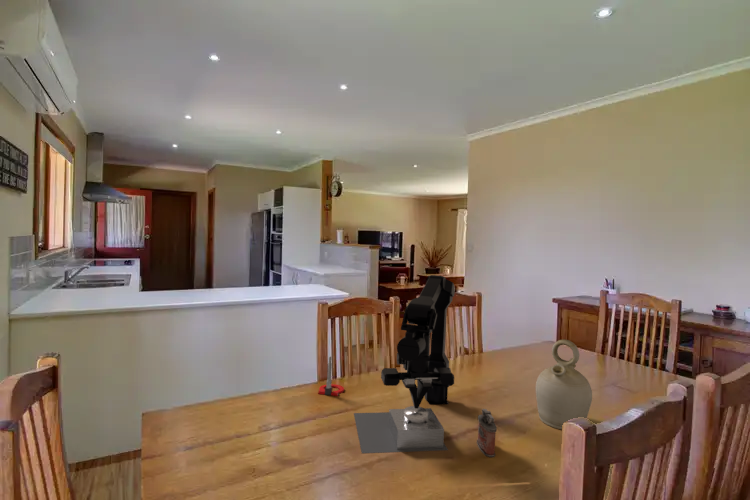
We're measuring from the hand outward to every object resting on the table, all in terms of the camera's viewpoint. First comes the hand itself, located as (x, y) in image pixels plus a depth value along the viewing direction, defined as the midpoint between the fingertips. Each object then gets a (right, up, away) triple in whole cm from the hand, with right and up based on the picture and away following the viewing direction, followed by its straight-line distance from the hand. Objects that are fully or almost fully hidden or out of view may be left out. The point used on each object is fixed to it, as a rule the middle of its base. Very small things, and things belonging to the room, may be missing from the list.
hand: (415, 407), depth 108 cm
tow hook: (-26, -6, +30) cm, 40 cm away
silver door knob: (0, -7, 0) cm, 7 cm away
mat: (-5, -8, +4) cm, 10 cm away
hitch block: (0, -8, 0) cm, 8 cm away
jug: (+45, -10, +14) cm, 48 cm away
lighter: (+17, -9, -4) cm, 20 cm away
